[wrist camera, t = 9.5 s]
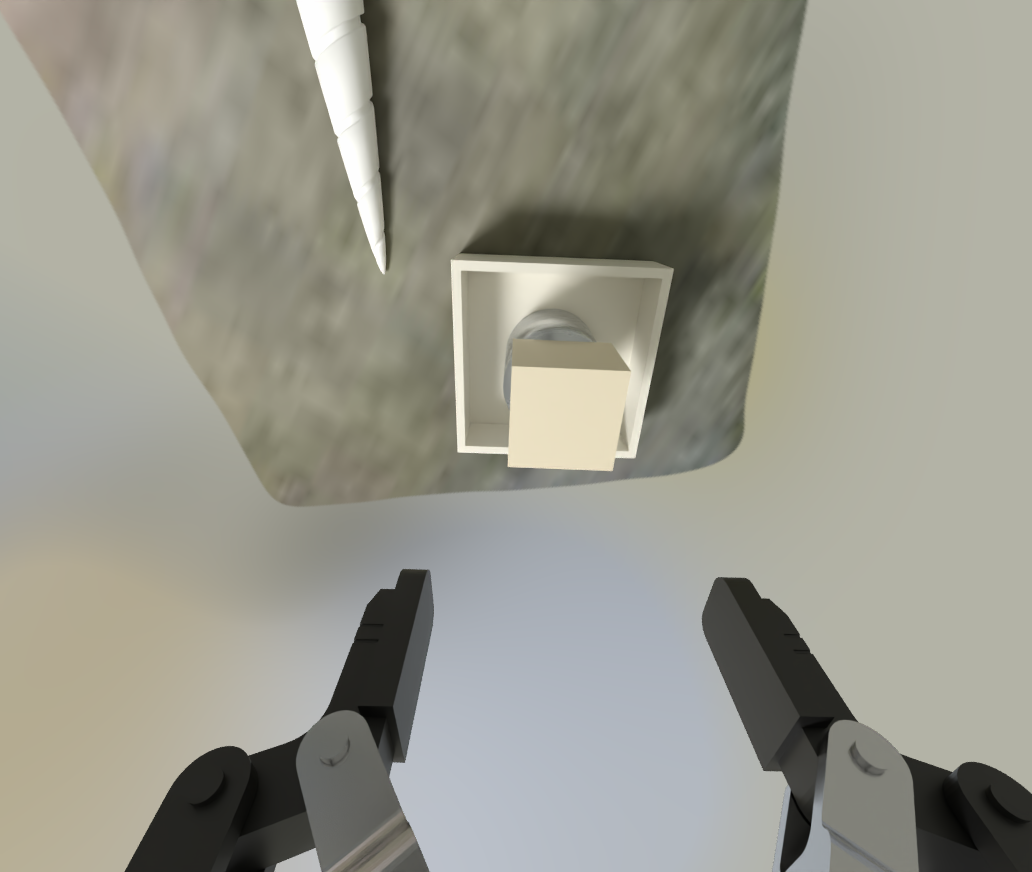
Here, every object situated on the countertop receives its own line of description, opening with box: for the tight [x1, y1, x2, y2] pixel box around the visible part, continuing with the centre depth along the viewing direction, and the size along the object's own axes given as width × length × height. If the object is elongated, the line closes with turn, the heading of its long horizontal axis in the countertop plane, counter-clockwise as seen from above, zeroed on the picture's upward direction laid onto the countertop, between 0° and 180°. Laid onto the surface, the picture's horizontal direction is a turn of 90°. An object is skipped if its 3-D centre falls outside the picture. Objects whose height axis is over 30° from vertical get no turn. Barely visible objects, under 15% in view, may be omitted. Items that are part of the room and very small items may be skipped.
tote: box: [451, 253, 674, 458], centre depth 31 cm, size 14×14×4 cm
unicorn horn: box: [296, 0, 386, 274], centre depth 23 cm, size 5×24×5 cm, turn 178°
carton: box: [508, 339, 631, 471], centre depth 24 cm, size 6×6×5 cm
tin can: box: [503, 308, 596, 410], centre depth 30 cm, size 7×7×7 cm
